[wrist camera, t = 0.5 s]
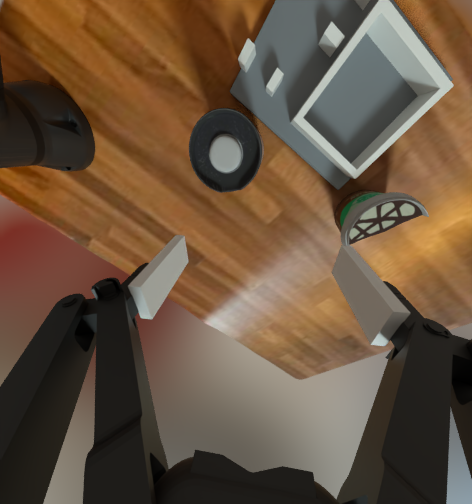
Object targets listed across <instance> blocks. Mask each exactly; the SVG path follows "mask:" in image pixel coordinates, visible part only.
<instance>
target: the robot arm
mask: <svg viewBox="0 0 472 504" xmlns="http://www.w3.org/2000/svg"><path fill="white" fill-rule="evenodd" d="M94 154H95V143H94V138H93V134H92V131H91V128H90V126H89V123H88V121H87V119H86V118H85V116H84V114H83V113H82V111H81V110H80V108H79V107H78V106H77V105H76V104H75V102H74V101H73V100H72V99H71V98H70V97H69V96H67V95H66V94H65V93H64V92H62V91H61V90H59V89H58V88H56V87H54V86H51V85H48V84H45V83H41V82H37V81H32V80H25V81H18V82H7V83H3V74H2V66H1V57H0V168H8V167H19V166H30V165H37V166H42V167H47V168H52V169H56V170H61V171H78V170H83V169H85V168H87V167H88V166H89V165H90V164H91V162H92V161H93V158H94ZM187 263H188V255H187V249H186V243H185V237H184V236H182V235H176V236H175V237H174V238H173V239H172V240H171V241H170V242H169V243H168V244H167V245H166V246H165V247H164V248H163V249H162V250H161V251H160V252H159V254H158V255H157V256H156V257H155V258H154V259H153V260H152V261H151V262H150V263H145V264H143V265H141V266H139V267H138V268H137V269H136V270H135V272H133V273H132V274H131V276H129V277H128V278H127V280H125V281H124V282H123V283H122V284H121V285H120V282H119V280H118V279H116V278H107V279H104V280H101V281H99V282H97V283H96V284H95V285H94V286H92V289H91V290H92V292H93V294H94V296H95V298H93V299H85V297H84V296H83V295H82V294H73V295H69V296H67V297H65V298H63V299H61V300H60V301H59V302H57V303H56V305H55V306H54V307H53V309H52V310H51V312H50V313H49V315H48V316H47V318H46V319H45V321H44V322H43V324H42V325H41V327H40V328H39V330H38V331H37V333H36V334H35V336H34V337H33V339H32V340H31V342H30V343H29V345H28V346H27V348H26V349H25V351H24V352H23V354H22V355H21V357H20V358H19V360H18V361H17V363H16V364H15V366H14V367H13V369H12V370H11V372H10V373H9V375H8V376H7V378H6V379H5V380H4V382H3V384H2V385H1V387H0V504H43V502H44V499H45V496H46V493H47V490H48V487H49V484H50V481H51V478H52V475H53V472H54V469H55V465H56V463H57V460H58V457H59V453H60V450H61V448H62V445H63V442H64V439H65V436H66V433H67V430H68V426H69V424H70V420H71V418H72V415H73V412H74V409H75V406H76V403H77V400H78V397H79V394H80V391H81V388H82V384H83V382H84V379H85V376H86V373H87V370H88V367H89V364H90V361H91V358H92V355H93V352H94V349H95V346H96V380H95V382H96V383H95V384H96V385H95V428H94V429H95V432H94V445H93V448H92V449H91V450H90V452H89V453H88V455H87V458H86V463H85V472H84V492H83V504H446V497H447V475H448V450H449V428H450V406H451V409H452V413H453V416H454V419H455V423H456V426H457V430H458V433H459V436H460V440H461V444H462V447H463V450H464V454H465V457H466V461H467V464H468V467H469V471H470V474H471V478H472V339H471V340H468V339H464V338H461V337H458V336H455V335H452V334H451V333H450V332H449V330H448V329H446V328H445V327H444V326H442V325H441V324H439V323H437V322H435V321H433V320H430V319H427V318H424V317H423V316H422V315H421V314H420V313H419V312H418V311H417V310H416V309H415V308H414V307H413V306H412V304H411V303H410V302H409V301H408V300H406V298H405V297H404V296H403V295H401V293H400V292H399V291H398V289H397V288H396V287H394V286H393V285H391V284H390V283H388V282H386V281H382V280H381V279H380V278H379V277H378V275H377V274H376V273H375V272H374V271H373V270H372V269H371V267H370V266H369V265H368V264H367V263H366V262H365V261H364V260H363V258H362V257H361V256H360V255H359V254H358V253H357V252H356V250H355V249H354V248H353V247H352V246H344V245H341V248H340V251H339V254H338V257H337V259H336V262H335V265H334V268H333V270H332V274H333V276H334V278H335V280H336V281H337V283H338V285H339V287H340V289H341V291H342V293H343V294H344V296H345V298H346V300H347V302H348V304H349V305H350V307H351V309H352V311H353V313H354V315H355V317H356V318H357V320H358V322H359V324H360V326H361V328H362V330H363V331H364V333H365V335H366V337H367V339H368V341H369V342H370V344H371V345H379V346H386V345H387V343H388V342H389V341H390V340H391V341H392V343H393V344H394V346H395V347H394V348H393V349H392V350H391V352H390V353H389V354H388V355H387V357H386V358H387V359H388V362H387V366H386V369H385V371H384V374H383V377H382V380H381V383H380V386H379V389H378V392H377V395H376V398H375V401H374V403H373V407H372V409H371V412H370V415H369V418H368V421H367V424H366V427H365V430H364V433H363V436H362V439H361V442H360V445H359V448H358V450H357V453H356V456H355V459H354V462H353V465H352V468H351V471H350V473H349V475H348V477H347V479H346V480H345V482H344V484H343V486H342V487H341V489H340V492H339V495H338V497H337V500H336V499H335V498H334V497H333V496H332V495H331V494H330V493H329V492H328V491H327V490H326V489H325V488H324V487H322V486H321V485H320V484H318V483H317V482H315V481H314V476H313V472H309V471H304V470H298V469H293V468H288V467H283V466H282V467H278V468H273V469H269V470H264V471H259V472H255V473H252V472H249V471H247V470H246V469H244V468H243V467H241V466H239V465H238V464H236V463H234V462H233V461H231V460H230V459H228V458H226V457H225V456H223V455H220V454H215V453H209V452H205V451H199V450H195V453H194V457H190V458H187V459H185V460H182V461H181V462H179V463H177V464H176V465H174V466H173V467H172V468H171V469H168V465H167V460H166V456H165V452H164V449H163V446H162V443H161V440H160V436H159V431H158V426H157V421H156V416H155V411H154V406H153V401H152V396H151V391H150V386H149V381H148V376H147V371H146V366H145V361H144V356H143V351H142V346H141V342H140V337H139V332H138V327H137V322H136V319H135V316H136V315H137V313H138V312H139V314H140V317H141V318H144V319H153V317H154V316H155V314H156V312H157V311H158V309H159V308H160V306H161V304H162V303H163V301H164V300H165V298H166V297H167V295H168V293H169V292H170V290H171V289H172V287H173V285H174V284H175V282H176V281H177V279H178V277H179V276H180V274H181V273H182V271H183V269H184V268H185V266H186V265H187Z"/></svg>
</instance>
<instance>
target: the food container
mask: <svg viewBox="0 0 472 504" xmlns="http://www.w3.org/2000/svg"><path fill="white" fill-rule="evenodd" d="M421 215H424V216H427V217H429V216H428V213H427V211H426V209H425V207H424V206H423V205H422V204H421V203H420V202H419V201H417V200H416V199H415V198H413V197H412V196H410V195H407V194H404V193H397V192H396V193H379V192H375V191H371V190H361V191H357V192H354V193H352V194H350V195H348V196H347V197H346V198H344V199H343V200H342V201H341V203H340V204H339V206H338V207H337V209H336V212H335V222H336V225H337V227H338V229H339V231H340V232H341V242H342V244H343V245H344V246H350V244H353V243H355V242H357V241H359V240H362V239H364V238H367V237H370V236H373V235H376V234H379V233H382V232H385V231H387V230H389V229H391V228H393V227H395V226H397V225H399V224H401V223H403V222H406V221H408V220H411V219H413V218H416V217H418V216H421Z"/></svg>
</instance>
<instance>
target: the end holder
mask: <svg viewBox="0 0 472 504" xmlns="http://www.w3.org/2000/svg"><path fill="white" fill-rule="evenodd" d="M365 33H367V34H368V36H369V37H370V38H371V39H372V41H373V42H374V43H375V44H376V45H377V47H378V48H379V49H380V50H381V51H382V53H383V54H384V55H385V56H386V58H387V59H388V60H389V61H390V62H391V64H392V65H393V66H394V67H395V68H396V70H397V71H398V72H399V73H400V75H401V76H402V77H403V78H404V79H405V81H406V82H407V83H408V84H409V85H410V87H411V88H412V89H413V90H414V92H415V93H416V94H417V95H418V96H417V97H416V98H415V99H414V100H413V101H412V102H411V103H410V104H409V105H408V106H407V107H406V108H405V109H404V110H403V111H402V113H401V114H400V115H399V116H398V117H397V118H396V119H395V120H394V121H393V122H392V123H391V124H390V125H389V126H388V127H387V128H386V129H385V130H384V131H383V132H382V133H381V134H380V135H379V136H378V137H377V138H376V139H375V140H374V141H373V142H372V143H371V144H370V145H369V146H368V147H367V148H366V149H365V150H364V151H363V152H362V153H361V154H360V155H359V156H358V157H357V158H356V159H355V160H354V161H353V162H352V163H351V164H350V163H349V162H348V161H347V160H346V159H345V158H344V157H343V156H342V155H341V154H340V153H339V152H338V151H337V150H336V149H335V148H334V147H333V146H332V145H331V144H330V143H329V142H328V141H327V140H326V139H325V138H324V137H323V136H322V135H321V134H319V133H318V132H317V131H316V130H315V129H314V128H313V127H312V126H311V125H310V124H309V123H308V122H307V121H306V120H305V119H304V118H303V117H304V116H305V115H306V113H307V112H308V110H309V109H310V108H311V106H312V105H313V104H314V102H315V101H316V100H317V98H318V97H319V96H320V94H321V93H322V92H323V90H324V89H325V88H326V86H327V85H328V83H329V82H330V81H331V79H332V78H333V77H334V75H335V74H336V73H337V71H338V70H339V69H340V67H341V66H342V65H343V63H344V62H345V60H346V59H347V58H348V56H349V55H350V54H351V52H352V51H353V50H354V48H355V47H356V46H357V44H358V43H359V42H360V40H361V39H362V37H363V36H364V35H365ZM453 86H454V85H453V84H452V82H451V81H450V80H449V78H448V77H447V76H446V75H445V73H444V72H443V71H442V69H441V68H440V67H439V65H438V64H437V63H436V61H435V60H434V59H433V57H432V56H431V55H430V53H429V52H428V51H427V49H426V48H425V47H424V45H423V44H422V43H421V41H420V40H419V39H418V38H417V36H416V35H415V34H414V32H413V31H412V30H411V28H410V27H409V26H408V24H407V23H406V22H405V20H404V19H403V18H402V16H401V15H400V14H399V12H398V11H397V10H396V8H395V7H394V6H393V5H392V3H391V2H390V1H389V0H379V1H378V2H377V3H376V4H375V6H374V7H373V8H372V10H371V11H370V12H369V13H368V15H367V16H366V17H365V19H364V20H363V22H362V23H361V24H360V26H359V27H358V29H357V30H356V31H355V33H354V34H353V36H352V37H351V38H350V40H349V41H348V43H347V44H346V45H345V47H344V48H343V50H342V51H341V52H340V54H339V55H338V57H337V58H336V59H335V61H334V62H333V64H332V65H331V66H330V68H329V69H328V71H327V72H326V73H325V75H324V76H323V78H322V79H321V80H320V82H319V83H318V85H317V86H316V87H315V89H314V90H313V92H312V93H311V94H310V96H309V97H308V99H307V100H306V101H305V103H304V104H303V106H302V107H301V108H300V110H299V111H298V113H297V114H296V115H295V117H294V118H293V120H292V121H291V122H290V123H291V124H292V125H293V126H294V127H295V128H296V129H297V130H298V131H299V132H300V133H302V134H303V135H304V136H305V137H306V138H307V139H308V140H309V141H310V142H311V143H312V144H313V145H314V146H315V147H316V148H317V149H319V150H320V151H321V152H322V153H323V154H324V155H325V156H326V157H327V158H328V159H329V160H330V161H331V162H332V163H333V164H334V165H336V166H337V167H338V168H339V169H340V170H341V171H342V172H343V173H344V174H345V175H346V176H349V177H352V178H354V179H356V178H357V177H358V176H359V175H360V174H361V173H362V172H363V171H364V170H365V169H367V168H368V167H369V166H370V165H371V164H372V163H373V162H374V161H375V160H376V159H377V158H378V157H379V156H380V155H381V154H382V153H383V152H384V151H385V150H386V149H388V148H389V147H390V146H391V145H392V144H393V143H394V142H395V141H396V140H397V139H398V138H399V137H400V136H401V135H402V134H403V133H404V132H405V131H406V130H408V129H409V128H410V127H411V126H412V125H413V124H414V123H415V122H416V121H417V120H418V119H419V118H420V117H421V116H422V115H423V114H424V113H425V112H426V111H428V110H429V109H430V108H431V107H432V106H433V105H434V104H435V103H436V102H437V101H438V100H439V99H440V98H441V97H442V96H443V95H444V94H445V93H446V92H448V91H449V90H450V89H451V88H452V87H453Z"/></svg>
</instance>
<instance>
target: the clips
mask: <svg viewBox="0 0 472 504" xmlns="http://www.w3.org/2000/svg"><path fill="white" fill-rule="evenodd" d="M355 1H356V3H357V4H358V5H359V6H360V8H361V9H362V10H364V8H365V7H366V5H367V4H368V3H369V1H370V0H355ZM344 37H345V36H344V35H343V34H342V33H341V31H340V30H339V29H338V28H337V27H336V26H335V24H334V23H333V22H331V23H330V25H329V26H328V28H327V29H326V31H325V32H324V34H323V36H322V38H321V40H320V42H319V44H318V45H319V46H320V47H321V49H322V50H323V51H324V52H325V53H326V54H327V55H328V56H329V57H331V55H332V54H333V53H334V51H335V50H336V49H337V47H338V46H339V44H340V43H341V41H342V40H343V39H344ZM255 56H256V49H255V44H254V43H253V42H252V41H251V40H250V39H249V38H248V39H247V41H246V43H245V45H244V47H243V49H242V51H241V54H240V56H239V58H238V61H239V65H240V67H241V68H242V69H243V70H244V71H245V72H246V73H247V71H248V69H249V67H250V65H251V63H252V61H253V60H254V58H255ZM283 75H284V74H283V73H282V72H281V71H280V70H279V69H278V68H277V69H276V71H275V72H274V74H273V76H272V77H271V79H270V81H269V82H268V84H267V86H266V92H267V93H268V94H269V95H270V96H271V97H272V96H273V94H274V93H275V91H276V90H277V88H278V86H279V85H280V83H281V82H282V79H283Z"/></svg>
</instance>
